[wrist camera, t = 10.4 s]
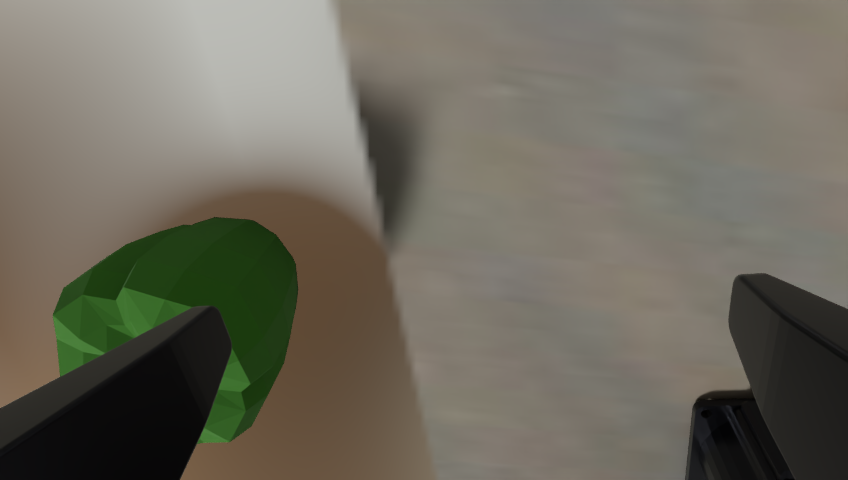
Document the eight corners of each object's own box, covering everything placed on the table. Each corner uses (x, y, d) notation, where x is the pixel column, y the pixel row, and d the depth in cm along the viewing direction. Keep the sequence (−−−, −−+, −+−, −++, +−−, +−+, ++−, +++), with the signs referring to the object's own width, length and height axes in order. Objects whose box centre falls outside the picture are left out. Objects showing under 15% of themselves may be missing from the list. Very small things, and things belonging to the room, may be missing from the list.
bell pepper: (206, 347, 28) (74, 522, 20) (129, 210, 25) (-74, 348, 16) (352, 325, 26) (278, 508, 18) (290, 172, 23) (159, 305, 14)
